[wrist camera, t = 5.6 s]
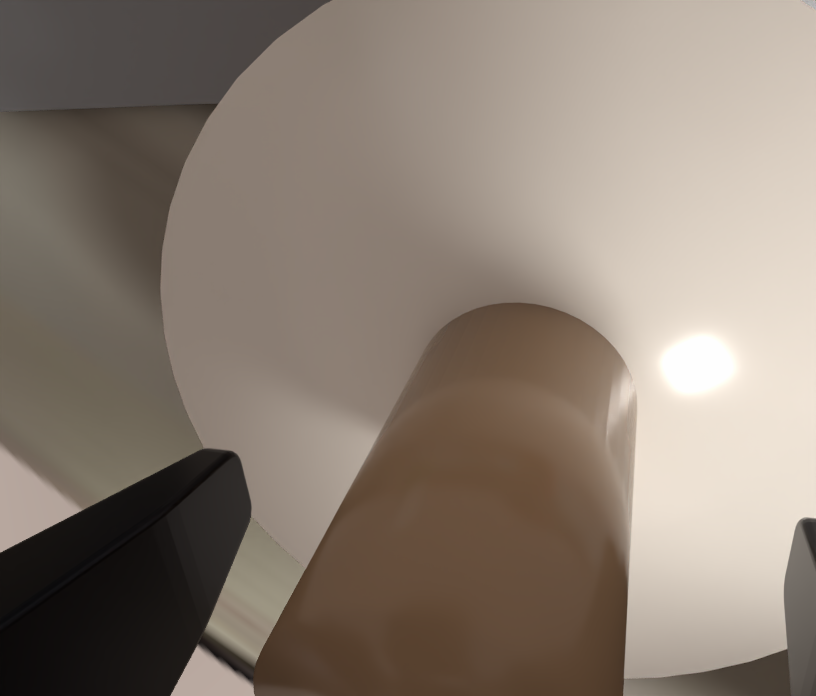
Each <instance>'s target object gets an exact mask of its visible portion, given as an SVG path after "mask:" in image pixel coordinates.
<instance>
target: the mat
mask: <svg viewBox="0 0 816 696" xmlns="http://www.w3.org/2000/svg"><path fill="white" fill-rule="evenodd" d="M330 1H332V0H0V112H9V111H34V110H60V109H86V108H112V107H138V106H164V105H190V104H216V103H219V102H220V101H221V100H222V98H223V97H224V96H225V94H226V93H227V92H228V90H229V89H230V87H231V86H232V85H233V83H234V82H235V81H236V79H237V78H238V77H239V76H240V75H241V74H242V73H243V72H244V71H245V70H246V69H247V68H248V67H249V66H250V65H251V64H252V63H253V62H254V61H255V60H256V59H257V58H258V57H259V56H260V55H261V54H262V53H263V52H264V51H265V50H266V49H267V48H268V47H269V46H270V45H271V44H272V43H273V42H274V41H275V40H276V39H277V38H279V37H280V36H281V35H283V34H284V33H285V32H287V31H288V30H290V29H291V28H292V27H294V26H295V25H296V24H298V23H299V22H301V21H302V20H303V19H305V18H306V17H307V16H309V15H310V14H312V13H313V12H314V11H316V10H317V9H318V8H320V7H321V6H322V5H324V4H326V3H328V2H330Z"/></svg>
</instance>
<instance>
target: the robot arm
mask: <svg viewBox="0 0 816 696" xmlns="http://www.w3.org/2000/svg"><path fill="white" fill-rule="evenodd" d="M251 511H252V504H251V499H250V495H249V490H248V486H247V482H246V478H245V474H244V470H243V466H242V462H241V460H240V457H239V456H238V455H237V454H236V453H235V452H233V451H231V450H222V449H213V448H205V449H202V450H199V451H197V452H195V453H194V454H192V455H190V456H188V457H186V458H184V459H182V460H180V461H178V462H176V463H174V464H172V465H170V466H168V467H166V468H164V469H162V470H160V471H158V472H157V473H155V474H153V475H151V476H149V477H147V478H145V479H143V480H141V481H139V482H137V483H135V484H133V485H131V486H129V487H127V488H125V489H123V490H121V491H119V492H118V493H116V494H114V495H112V496H110V497H108V498H106V499H104V500H102V501H100V502H98V503H96V504H94V505H92V506H90V507H88V508H86V509H84V510H82V511H81V512H79V513H77V514H75V515H73V516H71V517H69V518H67V519H65V520H63V521H61V522H59V523H57V524H55V525H53V526H52V527H49V528H47V529H45V530H44V531H42V532H40V533H38V534H36V535H34V536H32V537H30V538H28V539H26V540H24V541H22V542H20V543H18V544H16V545H14V546H12V547H10V548H9V549H7V550H5V551H3V552H1V553H0V696H170V695H171V693H172V692H173V690H174V688H175V686H176V684H177V682H178V680H179V678H180V677H181V675H182V673H183V671H184V669H185V667H186V665H187V663H188V662H189V660H190V658H191V656H192V654H193V652H194V650H195V648H196V646H197V644H198V643H199V641H200V639H201V637H202V635H203V633H204V631H205V628H206V626H207V624H208V622H209V619H210V617H211V615H212V612H213V610H214V608H215V605H216V603H217V600H218V598H219V595H220V593H221V591H222V588H223V586H224V583H225V581H226V578H227V576H228V573H229V571H230V569H231V566H232V564H233V561H234V559H235V556H236V554H237V551H238V549H239V547H240V544H241V542H242V539H243V537H244V534H245V532H246V530H247V527H248V525H249V522H250V518H251ZM784 610H785V623H786V636H787V649H788V662H789V675H790V688H791V696H816V518H810V517H804V518H802V519H800V520H799V521H798V523H797V525H796V527H795V531H794V536H793V541H792V545H791V550H790V555H789V559H788V564H787V569H786V574H785V580H784Z"/></svg>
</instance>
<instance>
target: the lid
mask: <svg viewBox="0 0 816 696" xmlns="http://www.w3.org/2000/svg"><path fill="white" fill-rule="evenodd" d="M160 295H161V305H162V316H163V326H164V336H165V340H166V344H167V349H168V353H169V358H170V362H171V367H172V371H173V375H174V378H175V381H176V384H177V387H178V389H179V392H180V395H181V398H182V401H183V403H184V406H185V409H186V412H187V414H188V416H189V418H190V420H191V422H192V425H193V427H194V429H195V431H196V433H197V435H198V437H199V439H200V441H201V443H202V445H203V447H204V449H205V448H213V449H222V450H231V451H233V452H235V453H236V454H237V455H238V456H239V457H240V460H241V462H242V466H243V470H244V474H245V478H246V482H247V486H248V490H249V495H250V499H251V504H252V511H251V516H252V517H253V518H254V519H255V520H256V521H257V522H258V523H259V524H260V525H261V527H262V528H263V529H264V530H265V531H266V532H267V533H268V534H269V535H270V536H271V537H272V538H273V539H274V540H275V541H276V543H278V544H279V545H280V546H281V547H282V548H283V549H284V550H285V551H287V552H288V553H289V554H290V555H291V556H292V557H293V558H294V559H296V560H297V561H298V562H299V563H300V564H301V565H302V566H303V567H305V568H306V569H305V571H304V573H303V575H302V577H301V579H300V581H299V582H298V584H297V586H296V588H295V590H294V592H293V593H292V595H291V597H290V599H289V601H288V603H287V604H286V606H285V608H284V610H283V612H282V614H281V616H280V617H279V619H278V621H277V623H276V625H275V627H274V628H273V630H272V632H271V634H270V636H269V638H268V640H267V641H266V643H265V645H264V647H263V649H262V651H261V653H260V655H259V657H258V660H257V662H256V666H255V671H254V677H253V678H254V694H255V696H623V685H624V679H629V678H659V677H668V676H676V675H684V674H691V673H699V672H706V671H711V670H715V669H720V668H724V667H728V666H733V665H737V664H742V663H746V662H750V661H753V660H756V659H759V658H762V657H765V656H768V655H771V654H774V653H777V652H780V651H783V650H786V649H787V636H786V623H785V610H784V580H785V574H786V569H787V564H788V559H789V555H790V550H791V545H792V541H793V536H794V531H795V527H796V525H797V523H798V521H799V520H800V519H802V518H804V517H810V518H816V10H815V9H813V8H812V7H810V6H809V5H807V4H806V3H804V2H803V1H801V0H332V1H330V2H328V3H326V4H324V5H322V6H321V7H320V8H318V9H317V10H316V11H314V12H313V13H312V14H310V15H309V16H307V17H306V18H305V19H303V20H302V21H301V22H299V23H298V24H296V25H295V26H294V27H292V28H291V29H290V30H288V31H287V32H285V33H284V34H283V35H281V36H280V37H279V38H277V39H276V40H275V41H274V42H273V43H272V44H271V45H270V46H269V47H268V48H267V49H266V50H265V51H264V52H263V53H262V54H261V55H260V56H259V57H258V58H257V59H256V60H255V61H254V62H253V63H252V64H251V65H250V66H249V67H248V68H247V69H246V70H245V71H244V72H243V73H242V74H241V75H240V76H239V77H238V78H237V79H236V81H235V82H234V83H233V85H232V86H231V87H230V89H229V90H228V92H227V93H226V94H225V96H224V97H223V98H222V100H221V101H220V102H219V104H218V105H217V107H216V108H215V109H214V111H213V112H212V113H211V115H210V116H209V118H208V119H207V121H206V123H205V124H204V126H203V128H202V130H201V132H200V134H199V136H198V138H197V140H196V142H195V144H194V146H193V148H192V150H191V152H190V154H189V155H188V157H187V159H186V161H185V163H184V166H183V169H182V172H181V175H180V178H179V181H178V184H177V187H176V190H175V193H174V196H173V199H172V202H171V205H170V209H169V214H168V220H167V226H166V231H165V237H164V242H163V248H162V264H161V289H160Z"/></svg>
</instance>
